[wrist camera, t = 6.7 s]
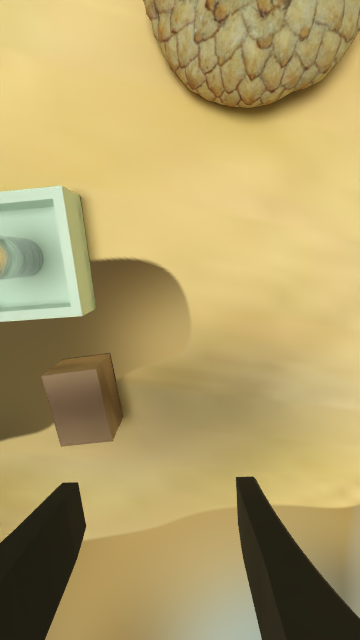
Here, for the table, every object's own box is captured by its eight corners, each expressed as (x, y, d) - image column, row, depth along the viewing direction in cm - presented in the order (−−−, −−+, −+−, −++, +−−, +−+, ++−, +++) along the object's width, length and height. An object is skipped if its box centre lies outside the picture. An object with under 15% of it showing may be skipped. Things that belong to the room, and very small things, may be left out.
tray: (96, 308, 19) (82, 315, 17) (-5, 315, 20) (-33, 324, 17) (79, 195, 18) (61, 185, 15) (-30, 206, 18) (-65, 198, 16)
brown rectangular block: (123, 415, 21) (112, 441, 18) (79, 420, 21) (60, 446, 18) (110, 352, 20) (95, 369, 17) (63, 358, 20) (41, 376, 17)
